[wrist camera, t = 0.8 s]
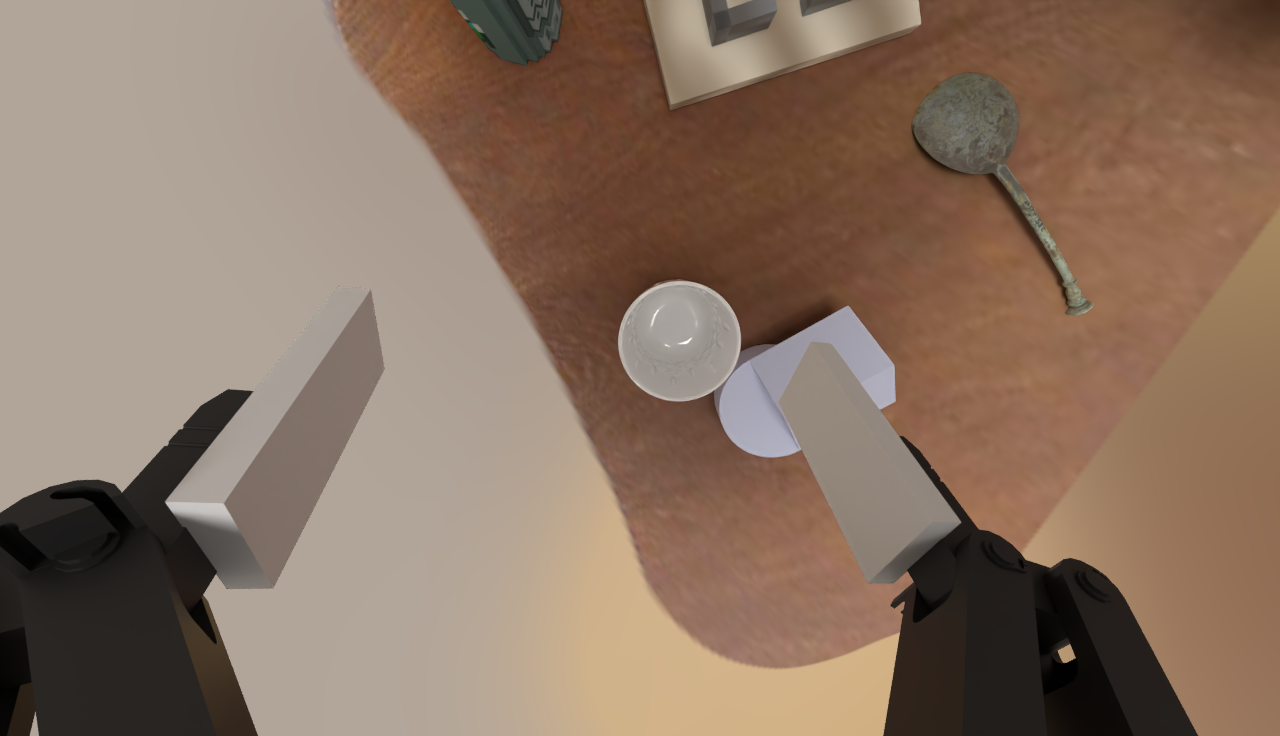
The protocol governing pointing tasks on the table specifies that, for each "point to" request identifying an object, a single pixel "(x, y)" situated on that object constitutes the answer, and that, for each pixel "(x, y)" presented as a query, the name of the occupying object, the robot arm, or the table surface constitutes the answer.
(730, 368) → the white cup
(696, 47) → the board with grey rim
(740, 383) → the wedge on round base
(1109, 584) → the robot arm
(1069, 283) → the soupspoon
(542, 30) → the can
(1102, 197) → the table surface
